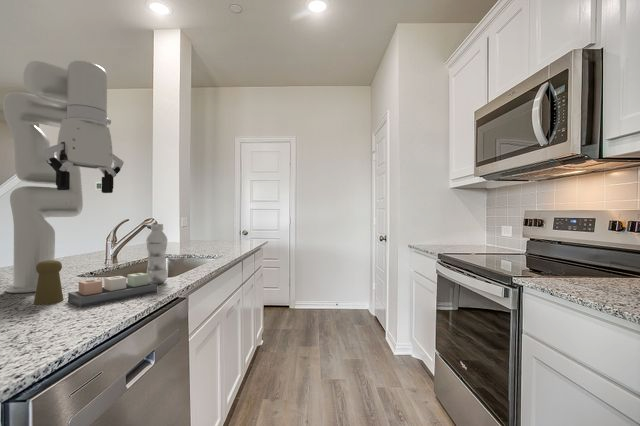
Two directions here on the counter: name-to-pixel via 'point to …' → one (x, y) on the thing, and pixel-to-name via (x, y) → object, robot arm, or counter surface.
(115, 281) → the key cream
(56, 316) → the counter surface
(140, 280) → the key sage
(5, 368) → the counter surface
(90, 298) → the base
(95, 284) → the peach square block
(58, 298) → the olive rounded piece
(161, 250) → the plastic bottle
